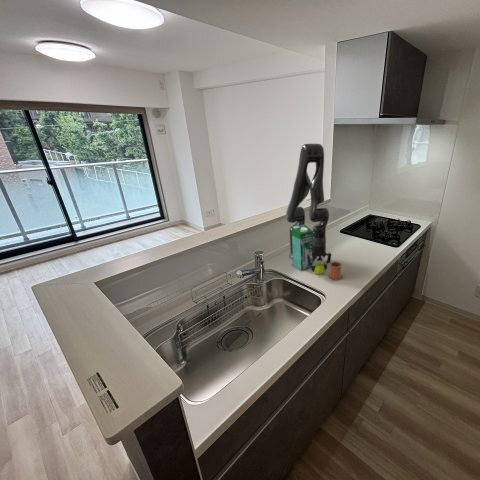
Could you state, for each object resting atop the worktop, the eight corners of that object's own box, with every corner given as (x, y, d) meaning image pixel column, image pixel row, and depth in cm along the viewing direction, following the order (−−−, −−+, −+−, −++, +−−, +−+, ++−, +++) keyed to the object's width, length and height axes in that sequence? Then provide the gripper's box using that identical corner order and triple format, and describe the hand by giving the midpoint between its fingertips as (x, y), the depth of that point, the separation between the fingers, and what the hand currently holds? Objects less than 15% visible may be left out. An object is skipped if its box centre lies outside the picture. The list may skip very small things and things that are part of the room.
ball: (312, 271, 152) (312, 261, 150) (322, 270, 153) (323, 260, 151) (315, 276, 146) (314, 266, 144) (325, 275, 148) (326, 265, 145)
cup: (329, 275, 148) (329, 262, 145) (338, 273, 149) (339, 261, 146) (332, 280, 143) (332, 267, 140) (342, 278, 144) (342, 266, 141)
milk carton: (301, 270, 154) (300, 230, 144) (292, 264, 160) (291, 226, 151) (313, 266, 159) (313, 227, 149) (304, 260, 165) (303, 223, 156)
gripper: (329, 239, 148) (329, 266, 154) (304, 242, 145) (305, 268, 151) (333, 244, 141) (333, 272, 147) (307, 247, 138) (308, 275, 144)
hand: (319, 270), depth 149 cm, fingers closed on ball, 6 cm apart
